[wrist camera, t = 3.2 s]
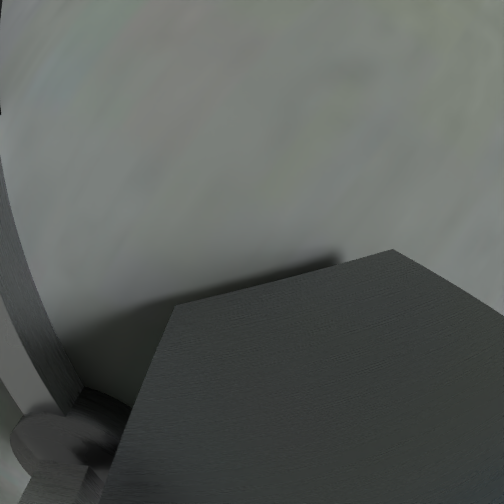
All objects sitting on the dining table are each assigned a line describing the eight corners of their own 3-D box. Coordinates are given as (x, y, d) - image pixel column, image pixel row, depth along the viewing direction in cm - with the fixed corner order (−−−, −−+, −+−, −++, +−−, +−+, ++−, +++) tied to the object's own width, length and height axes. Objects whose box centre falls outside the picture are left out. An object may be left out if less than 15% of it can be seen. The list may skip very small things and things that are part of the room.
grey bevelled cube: (398, 405, 9) (487, 562, 2) (236, 449, 9) (241, 635, 2) (392, 248, 7) (623, 407, 1) (175, 304, 8) (72, 590, 1)
